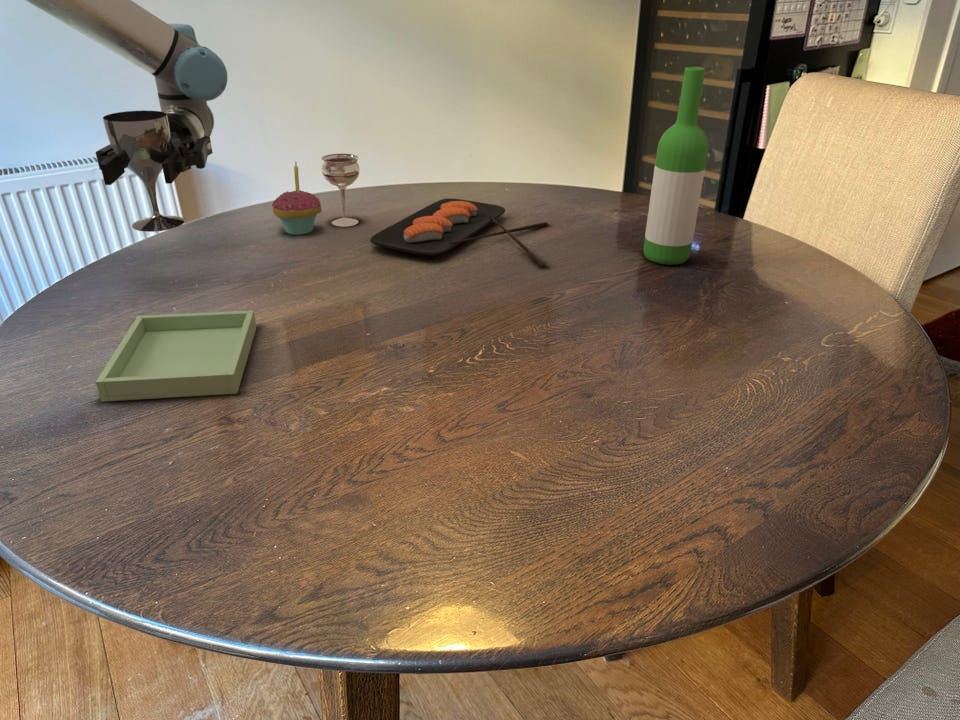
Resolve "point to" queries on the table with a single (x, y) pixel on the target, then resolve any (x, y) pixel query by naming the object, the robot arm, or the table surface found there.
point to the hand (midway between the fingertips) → (136, 174)
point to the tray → (179, 356)
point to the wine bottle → (678, 179)
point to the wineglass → (341, 178)
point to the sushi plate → (445, 228)
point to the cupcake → (297, 209)
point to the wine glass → (143, 156)
